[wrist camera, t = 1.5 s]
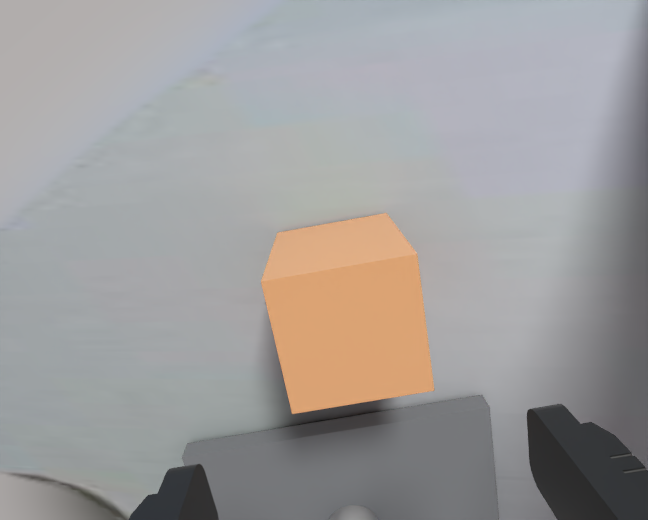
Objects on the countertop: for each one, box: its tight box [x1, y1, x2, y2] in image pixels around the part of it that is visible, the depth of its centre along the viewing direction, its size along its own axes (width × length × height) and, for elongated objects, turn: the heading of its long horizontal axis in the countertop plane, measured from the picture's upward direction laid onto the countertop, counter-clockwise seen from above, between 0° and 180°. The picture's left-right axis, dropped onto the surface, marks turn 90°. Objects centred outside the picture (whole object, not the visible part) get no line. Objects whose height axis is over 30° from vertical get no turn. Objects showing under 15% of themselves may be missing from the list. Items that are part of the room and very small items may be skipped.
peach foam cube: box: [261, 213, 434, 414], centre depth 21 cm, size 6×6×8 cm
